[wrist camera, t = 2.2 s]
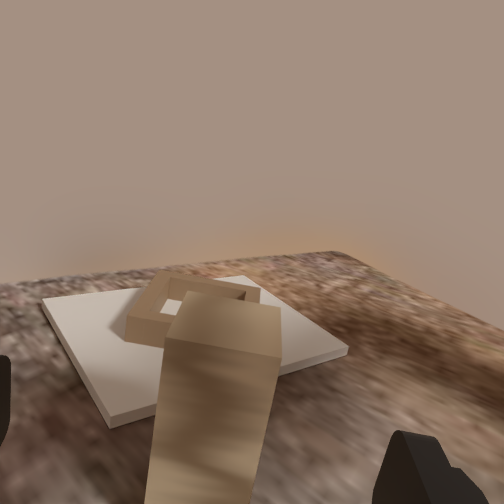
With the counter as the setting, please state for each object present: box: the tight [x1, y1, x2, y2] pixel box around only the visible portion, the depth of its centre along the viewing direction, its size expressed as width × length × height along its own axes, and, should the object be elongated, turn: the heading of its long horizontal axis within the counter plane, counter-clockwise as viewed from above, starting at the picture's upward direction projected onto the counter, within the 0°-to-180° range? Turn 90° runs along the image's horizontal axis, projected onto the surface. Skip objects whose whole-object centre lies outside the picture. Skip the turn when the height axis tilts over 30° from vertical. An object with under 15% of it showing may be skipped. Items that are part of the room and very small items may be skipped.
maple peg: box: [144, 291, 282, 504], centre depth 23 cm, size 5×5×12 cm
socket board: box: [42, 270, 349, 429], centre depth 43 cm, size 24×18×4 cm
